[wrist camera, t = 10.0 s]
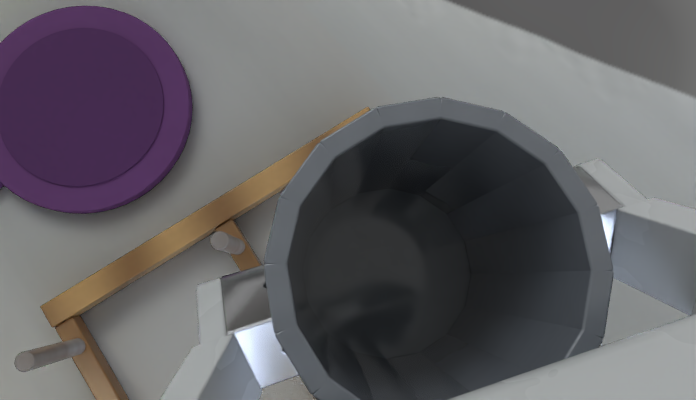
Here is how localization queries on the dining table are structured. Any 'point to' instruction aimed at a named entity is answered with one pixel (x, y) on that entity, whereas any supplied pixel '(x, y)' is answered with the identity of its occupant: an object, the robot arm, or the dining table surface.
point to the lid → (89, 109)
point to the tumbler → (434, 255)
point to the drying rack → (151, 256)
